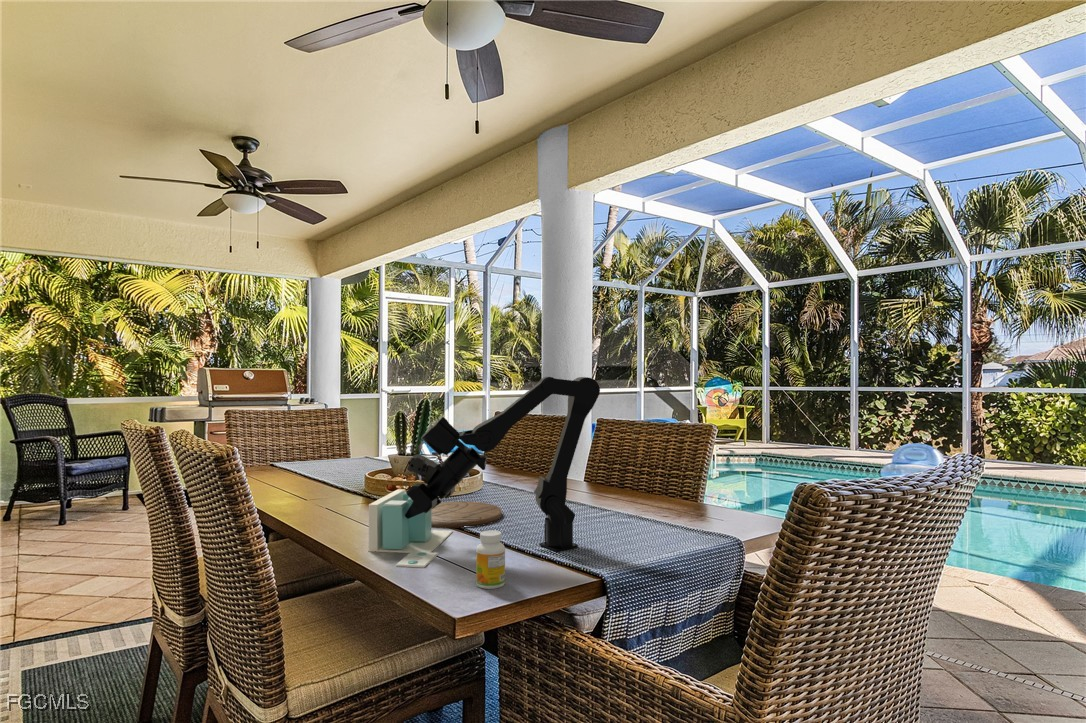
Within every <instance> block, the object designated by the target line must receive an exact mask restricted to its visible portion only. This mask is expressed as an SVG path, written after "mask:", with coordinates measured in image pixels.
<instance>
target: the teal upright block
mask: <svg viewBox="0 0 1086 723" xmlns="http://www.w3.org/2000/svg"><path fill="white" fill-rule="evenodd" d="M407 501H408V502H409V508H410V506H411V504H412V502H413V500H412V499H411V498H408V500H407ZM431 530H432V527H431V510H430V511H429V512H427V513H424V512H423V513H421V514H418V515H416V516H414V517H411V518H409V541H417V542H426V541H427V540H428V539H429V538H430V537H431Z"/></svg>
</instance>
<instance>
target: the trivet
mask: <svg viewBox="0 0 1086 723" xmlns="http://www.w3.org/2000/svg"><path fill="white" fill-rule="evenodd" d="M500 517H501V518H502V509H501V507H499V506H497V505H495V504H492V503H487V502H481V501H444V502H442V501H441V503H440V504H439V505H437V506H436V507H434V508H433V509H431V528H434V529H460V528H459V527H464V526H475V527H478V526H477V525H480V526H484V525H483V524H486V525H489V524H492V523H495V522H497V521H499V520H500V519H501V518H500ZM498 519H499V520H498ZM496 520H497V521H496ZM491 522H492V523H491Z"/></svg>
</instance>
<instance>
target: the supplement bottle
mask: <svg viewBox="0 0 1086 723" xmlns="http://www.w3.org/2000/svg"><path fill="white" fill-rule="evenodd" d="M479 540H480V543H479V544H478V545H477V546H476V552H475V553H476V557H475V558H476V561H475V562H476V563H475V564H476V567H475V568H476V571H475V572H476V573H475V575H476V578H475V579H476V581H475V582H476V583H475V584H476V586H477V587H479V588H481V589H486V590H493V589H499V588H501V587H503V586H504V585H505V583H506V547H505V545H504V544H503V543H502V542H501V541H502V532H501V531H499V530H495V529H494V530H493V529H491V530H483V531H481V532H480V533H479Z"/></svg>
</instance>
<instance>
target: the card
mask: <svg viewBox="0 0 1086 723" xmlns="http://www.w3.org/2000/svg"><path fill="white" fill-rule="evenodd" d="M438 555H439V553H438V552H431V553H428V552H410V553H407V554H406V555H405V556H404V557H403V558H402V559H401V560H399V561H398V562H397V563H396V565H395V567H401V568H402V567H406V568H407V567H408V568H425V567H427V565H429V564H430V563H431V562H432V561H433V560H434V559H435V558H436V557H437V556H438Z"/></svg>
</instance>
